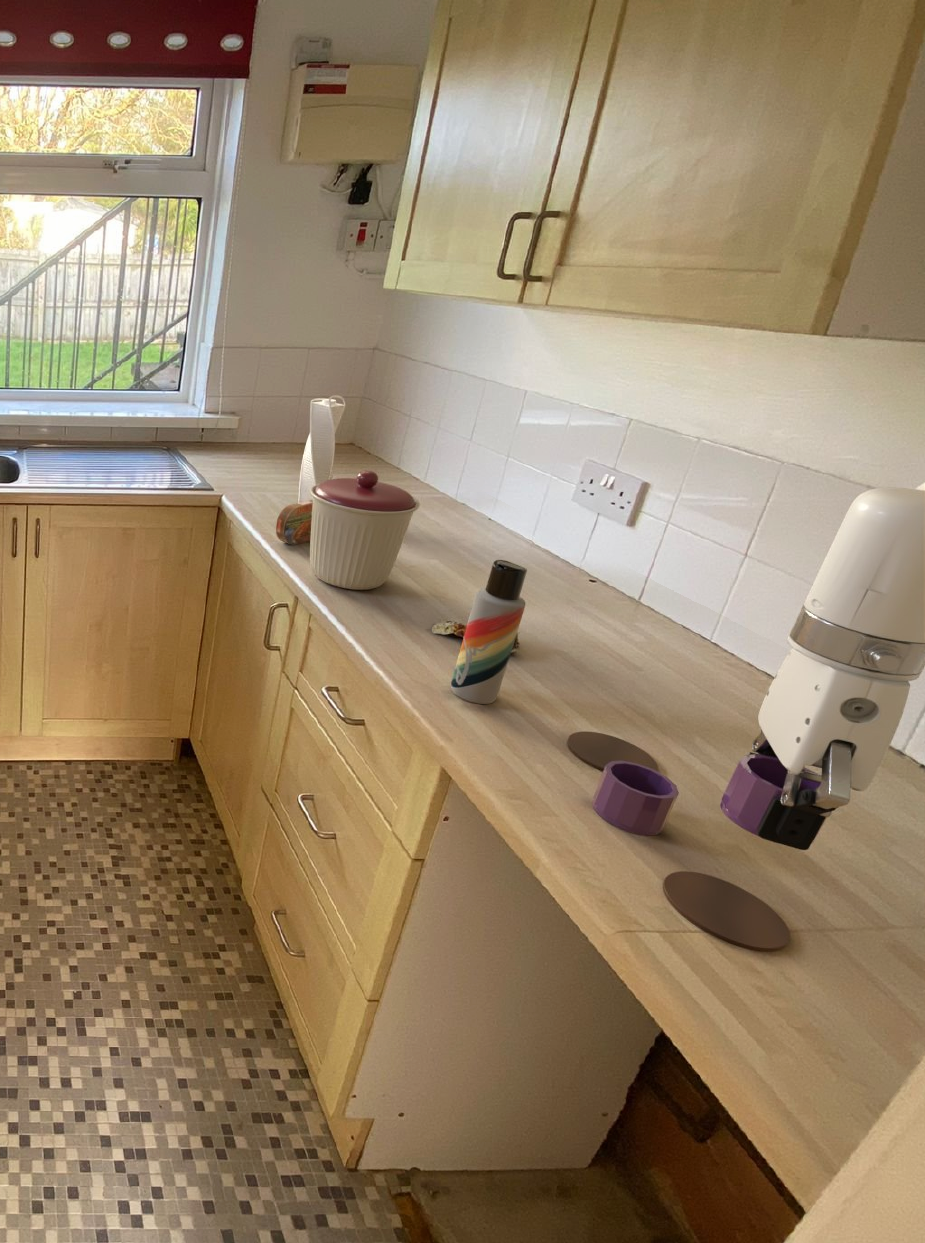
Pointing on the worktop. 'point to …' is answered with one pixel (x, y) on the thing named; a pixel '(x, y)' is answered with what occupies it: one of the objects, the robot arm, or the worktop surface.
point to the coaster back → (607, 750)
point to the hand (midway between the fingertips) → (768, 816)
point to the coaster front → (726, 911)
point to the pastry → (460, 631)
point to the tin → (295, 523)
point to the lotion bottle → (490, 634)
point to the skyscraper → (320, 445)
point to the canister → (358, 530)
